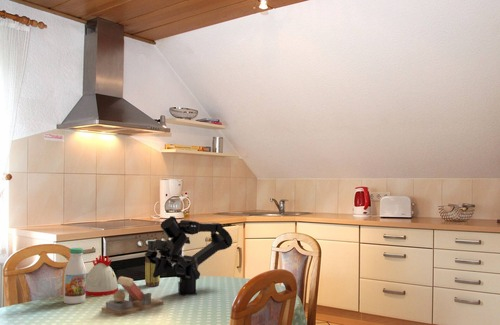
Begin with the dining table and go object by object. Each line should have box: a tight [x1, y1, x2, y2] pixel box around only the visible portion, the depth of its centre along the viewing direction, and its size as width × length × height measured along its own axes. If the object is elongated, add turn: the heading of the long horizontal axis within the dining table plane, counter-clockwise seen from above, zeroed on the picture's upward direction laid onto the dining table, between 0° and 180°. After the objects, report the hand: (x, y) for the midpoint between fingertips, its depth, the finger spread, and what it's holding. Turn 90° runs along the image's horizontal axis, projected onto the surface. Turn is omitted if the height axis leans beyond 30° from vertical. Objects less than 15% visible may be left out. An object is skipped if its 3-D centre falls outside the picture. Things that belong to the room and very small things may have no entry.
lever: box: [117, 276, 145, 302], centre depth 169 cm, size 3×5×12 cm
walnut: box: [113, 289, 126, 302], centre depth 164 cm, size 4×4×4 cm
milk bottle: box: [62, 247, 87, 305], centre depth 176 cm, size 8×8×20 cm
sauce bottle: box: [144, 239, 161, 287], centre depth 206 cm, size 7×6×20 cm
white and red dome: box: [85, 254, 119, 297], centre depth 192 cm, size 14×14×15 cm
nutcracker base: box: [101, 292, 164, 317], centre depth 169 cm, size 20×10×5 cm, turn 145°
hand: (154, 277), depth 178 cm, fingers closed
